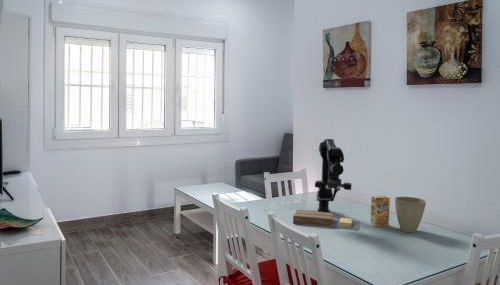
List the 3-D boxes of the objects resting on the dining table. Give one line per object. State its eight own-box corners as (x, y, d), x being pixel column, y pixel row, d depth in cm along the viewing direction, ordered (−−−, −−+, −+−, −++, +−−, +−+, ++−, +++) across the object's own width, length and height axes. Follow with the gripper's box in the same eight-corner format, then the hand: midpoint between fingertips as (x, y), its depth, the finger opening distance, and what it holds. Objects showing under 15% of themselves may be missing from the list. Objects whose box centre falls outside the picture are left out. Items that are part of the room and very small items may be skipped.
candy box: (374, 227, 221) (375, 198, 220) (369, 224, 225) (371, 196, 224) (388, 225, 224) (390, 197, 223) (384, 223, 228) (385, 195, 227)
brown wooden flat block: (296, 216, 238) (297, 209, 237) (333, 220, 233) (333, 212, 232) (293, 223, 224) (293, 215, 224) (331, 227, 219) (331, 219, 219)
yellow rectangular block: (352, 218, 227) (351, 222, 227) (340, 217, 229) (340, 221, 229) (351, 223, 218) (351, 227, 219) (339, 222, 220) (339, 225, 220)
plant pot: (424, 236, 207) (426, 204, 206) (392, 232, 213) (394, 201, 211) (423, 228, 221) (425, 198, 220) (393, 224, 226) (395, 195, 225)
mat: (334, 219, 233) (334, 218, 233) (358, 221, 230) (358, 221, 230) (332, 227, 218) (332, 226, 218) (358, 230, 215) (358, 229, 215)
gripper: (314, 173, 219) (313, 203, 220) (351, 175, 214) (350, 206, 216) (316, 170, 229) (315, 198, 231) (352, 172, 225) (350, 201, 226)
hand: (332, 201), depth 226 cm, fingers closed
